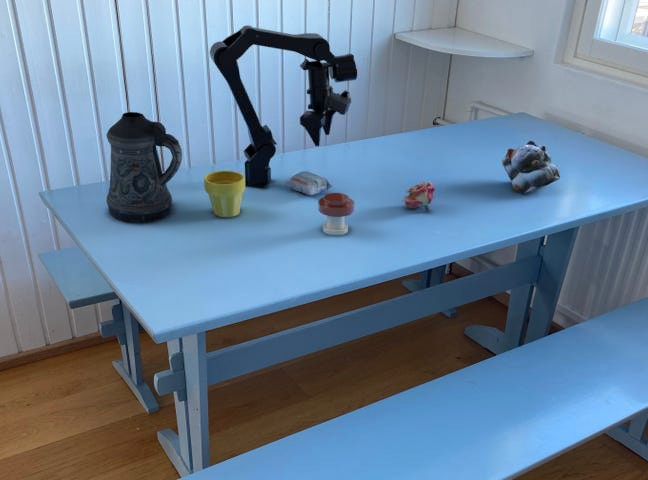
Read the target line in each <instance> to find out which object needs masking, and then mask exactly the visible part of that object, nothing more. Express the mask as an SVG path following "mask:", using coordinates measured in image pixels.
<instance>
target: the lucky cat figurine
mask: <svg viewBox="0 0 648 480" xmlns="http://www.w3.org/2000/svg"><path fill="white" fill-rule="evenodd" d="M501 163H502V166H503V169H504V171H505V172H506V174H507V177H508V178H509V180H510V182H511V184H512V188H513V190H514V191H515V192H517V193H520V194H522V195H524V194H526V193H530V192H532V191H535V190H537V189H539V188H543V187H545V186H547V185H550V184H553V183H554V182H556V181H559V180H560V179H561V173H560V172H561V171H560V169H559V168H558V166H557V165H555V164H554V163H552V159H551V156H550V154H549V152H548V151H547V147H546V144H541V145H539V146H538V145H537V144H536V143H535V141H534V140H529V141H528V142H527V143H526V144H523V145H520V146H519V147H517V148H515V149H513V148H508V149H507V151H506V155H505V156H504V157H503V158H502V160H501Z"/></svg>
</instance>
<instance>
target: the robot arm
mask: <svg viewBox="0 0 648 480" xmlns="http://www.w3.org/2000/svg"><path fill="white" fill-rule="evenodd" d="M252 46H259V47H265V48H271V49H276V50H282V51H289V52H293V53H297V54H299V55H301V56H303V57H305V58H304V60H303V61H302V62H301V63H300V65H299V67H300V68H301V70H303V71H307V79H308V88H307V90H306V95H309V104H307V110H305V111H304V113H303V114H302V115H300V117H299V125H301V126H302V127H303V128H304V129H305V131H306V132H307V134H308V136H309V137H310V139H311V141H312V143H313V144H314V146H315V147H319V146H320V143H321V133H322V130H323V133H324V134H325V136H329V135H330V133H331V129H332V124H333V118H334V116H335V114H336V113H338V114H339V115H342V116H344V115H346V114H347V112H349V109H350V106H351V104H352V97H351V94H350V91H348V90H344V91H342V92H341V93H339V92H334V87H333V86H332V85H330V80H333V81H334V82H335V83H344V82H350V81H356V80H357V79H358V68H357V63H356V61H355V55H354V54H352V53H346V54H343V55H335V54H333V53H332V51H331V47H330V46H331V45H330V43H329V41H328V40H327V39H326V38H324V36H322V35H320V34H319V33H316V32H315V33H314V32H313V33H297V34H293V33H286V32H281V31H276V30H270V29H265V28H259V27H254V26H251V25H249V24H248V25H244V26H242V27H241V28H239V30H237V31H236V32H233V33H232V34H230V35H229V36H227V37H226V38H224V39H223V40H222V41H216V42H214V43H213V44H212V45H211V46H210V48H209V49H210V50H209V57H210V59H211V60H212V62H213V64H214V65H215V67H216V68H217V69H218V71H219V73H220V74H221V76H222V77H223V78H224V80H225V81H226V83H227V85H228V88H229V90H230V92H231V95H232V96H233V99H234V101H235V103H236V105H237V108H238V110H239V112H240V114H241V116H242V119H243V121H244V123H245V125H246V128H247V133H248V138H249V142H250V143H249V144H248V145H247V146H246V147H245V149H244V150H243V154H244V157H245V158H246V160H245V162H244V177H245V187H246V186H248V187H254V188H260V189H264V188H266V187H267V186H268V185H269V184H270V183H271V182H272V180H273V179H272V168H271V167H270V162H271V159H272V158H273V157H274V156H275V154H276V152H277V148H276V146H277V144H278V143H277V142H276V140H275V139H274V136H273V134H272V133H273V132H272V130H271V128H270V127H269V126H268V125H267V124H264V125H262V123H261V121H260V119H259V117H258V115H257V112H256V110H255V108H254V105H253V103H252V100H251V99H250V96H249V94H248V92H247V89H246V87H245V85H244V83H243V80H242V78H241V71H240V66H239V63H238V60H240V59H241V58H242V56H244V55H245V53H246V52H247V51H248V50H249V49H250V48H251V47H252ZM308 58H309V59H311V60H309V59H308ZM322 61H324V62H322Z"/></svg>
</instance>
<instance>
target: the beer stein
mask: <svg viewBox="0 0 648 480" xmlns="http://www.w3.org/2000/svg"><path fill="white" fill-rule="evenodd" d="M105 135H106V139H107V142H108V143H109V145H110V176H109V177H110V178H109V179H110V180H109V188H108V192H107V195H106V205H107V207H108V214H109V215H110V216H111V217H112V218H113V219H115V220H116V221H120V222H124V223H126V224H127V223H128V224H145V223H151V222H156V221H159V220H163V219H164V218H165V217H166V216H168V215H169V214H170V213H171V211H172V204H173V197H172V194H171V192H170V190H169V188H168V185H167V183H169V182H170V181H171V179H173V177H175V175H176V174H177V173H178V171H179V169H180V167H181V164H182V160H183V150H182V147H181V145H180V142H179V140H178V139H177V138H176V137H175V136H174V135H172V134H169V133H167V129H166V127H165V125H164V124H163V123H162V122H158V121H153V120H149V119H148V118H146V116H145V115H144V113H141V112H136V111H135V112H134V111H127V112H124V113H122V115H121V117H120V119H118V121H117V122H115V123H114V124H113V125H112V126H111V127H110V128H109V129H108V130H107V133H106V134H105ZM157 147H165V148H167V149H168V150H169V151H170V153H171V157H172V158H171V161H170V164H169V165H168V167H167V168H166V170H165V171H164V172H163V167H162V163H161V160H160V156H159V152H158V148H157Z"/></svg>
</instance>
